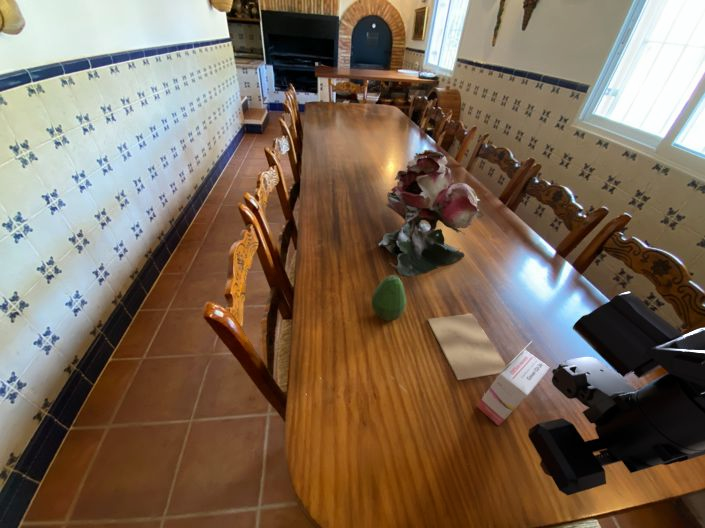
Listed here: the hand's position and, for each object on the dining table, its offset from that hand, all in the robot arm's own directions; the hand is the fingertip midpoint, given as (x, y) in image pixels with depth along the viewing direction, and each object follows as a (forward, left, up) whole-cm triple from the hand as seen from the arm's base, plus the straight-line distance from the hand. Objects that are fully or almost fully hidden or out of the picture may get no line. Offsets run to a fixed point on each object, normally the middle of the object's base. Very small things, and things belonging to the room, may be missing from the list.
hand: (573, 460), depth 39 cm
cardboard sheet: (+20, -18, -13) cm, 30 cm away
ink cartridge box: (+9, -10, -13) cm, 19 cm away
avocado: (+38, -12, -13) cm, 42 cm away
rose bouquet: (+49, -43, -13) cm, 67 cm away
